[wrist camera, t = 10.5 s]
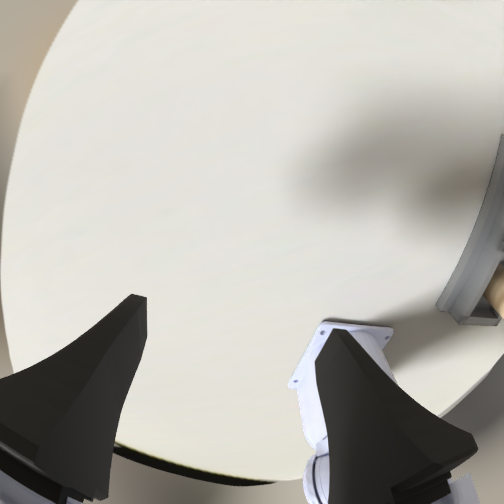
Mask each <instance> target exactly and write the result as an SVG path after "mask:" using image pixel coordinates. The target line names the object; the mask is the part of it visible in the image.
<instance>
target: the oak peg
mask: <svg viewBox="0 0 504 504" xmlns="http://www.w3.org/2000/svg"><path fill="white" fill-rule="evenodd" d="M482 296H483V297H484V298H485V299H486V300H487V301H488V302H489V303H490V304H491V306H492V307H493V308H494V309H495V310H496V311H497V312H498V313H499V314H500V316H501V317H502V318H503V319H504V266H503V265H502V264H501V263H499V264H498V266H497V268H496V270H495V272H494V274H493V276H492V278H491V280H490V282H489V284H488V285H487V287H486V289H485V291H484V293H483V294H482Z"/></svg>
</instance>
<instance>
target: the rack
mask: <svg viewBox="0 0 504 504" xmlns="http://www.w3.org/2000/svg"><path fill="white" fill-rule="evenodd" d="M499 263H501V264H502V265H503V266H504V135H503V134H502V136H501V141H500V145H499V150H498V154H497V158H496V162H495V166H494V170H493V173H492V177H491V180H490V184H489V187H488V190H487V193H486V196H485V199H484V202H483V205H482V208H481V211H480V213H479V216H478V219H477V221H476V224H475V226H474V229H473V231H472V234H471V236H470V238H469V241H468V243H467V245H466V247H465V250H464V252H463V254H462V256H461V258H460V260H459V262H458V264H457V266H456V268H455V270H454V272H453V274H452V276H451V278H450V280H449V282H448V284H447V286H446V287H445V289H444V291H443V293H442V295H441V296H440V298H439V300H438V302H437V303H436V306H437V308H438V309H439V310H440V311H444V312H449V313H450V314H451V315H452V317H453V318H454V319H455V320H456V322H457V323H458V324H459V325H480V326H497V325H498V323H499V322H500V320H501V319H502V317H501V316H500V314H499V313H498V312H497V311H496V310H495V309H494V308H493V307H492V306H491V304H490V303H489V302H488V301H487V300H486V299H485V298H484V297H483V296H482V294H483V293H484V291H485V289H486V287H487V285H488V284H489V282H490V280H491V278H492V276H493V274H494V272H495V270H496V268H497V266H498V264H499Z"/></svg>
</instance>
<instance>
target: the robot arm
mask: <svg viewBox="0 0 504 504" xmlns="http://www.w3.org/2000/svg"><path fill="white" fill-rule="evenodd" d="M321 331H323V332H321ZM393 333H394V330H393V329H392V328H389V327H377V326H365V325H355V324H345V323H336V322H327V321H325V322H322V323H320V325H319V326H318V328H317V330H316V332H315V334H314V336H313V338H312V340H311V342H310V344H309V346H308V348H307V350H306V352H305V354H304V355H303V357H302V359H301V361H300V363H299V365H298V367H297V368H296V370H295V372H294V374H293V376H292V377H291V379H290V381H289V383H288V388H290V389H297V394H298V400H299V406H300V412H301V419H302V425H303V432H304V435H305V438H306V440H307V441H308V443H309V444H310V445H311V446H312V447H313V448H314V449H315V450H316V454H315V455H313V456H311V457H310V459H309V460H308V462H307V465H306V467H305V470H304V474H303V486H304V492H305V495H306V498H307V501H308V503H309V504H480V502H479V499H478V496H477V492H476V489H475V486H474V483H473V480H472V477H471V475H470V473H467V474H466V475H464V476H462V477H461V478H459V479H457V480H455V481H453V482H452V479H451V473H450V471H451V470H452V469H454V468H455V467H457V466H459V465H460V464H462V463H463V462H465V461H466V460H467V459H469V458H470V457H471V456H473V455H474V454H475V453H476V452H477V450H478V447H477V444H476V442H475V440H474V438H473V436H472V434H471V433H468V432H466V431H464V430H461V429H459V428H457V427H455V426H453V425H451V424H449V423H447V422H446V421H444V420H442V419H440V418H439V417H437V416H436V415H434V414H433V413H431V412H430V411H428V410H427V409H426V408H424V407H423V406H421V405H420V404H419V403H417V402H416V401H415V400H414V399H413V398H411V397H410V396H409V395H408V394H407V393H406V392H404V391H403V390H402V389H401V388H400V387H399V386H398V384H397V382H396V380H395V377H394V375H393V373H392V371H391V369H390V366H389V364H388V362H387V360H386V358H385V356H384V354H383V351H382V350H383V348H384V347H385V346H386V344H387V343H388V341H389V340H390V338H391V337H392V335H393ZM146 339H147V297H143V296H139V295H134V294H131V295H129V296H128V297H127V298H126V299H124V300H123V301H122V302H121V303H120V304H119V305H118V306H117V307H115V308H114V309H113V310H112V311H111V312H110V313H109V314H107V315H106V316H105V317H104V318H103V319H101V320H100V321H99V322H98V323H97V324H95V325H94V326H93V327H92V328H90V329H89V330H88V331H87V332H85V333H84V334H83V335H81V336H80V337H79V338H77V339H76V340H75V341H73V342H72V343H70V344H69V345H67V346H66V347H64V348H63V349H61V350H60V351H58V352H57V353H55V354H53V355H52V356H50V357H48V358H46V359H44V360H42V361H41V362H39V363H37V364H35V365H33V366H31V367H29V368H27V369H24V370H22V371H20V372H17V373H15V374H12V375H10V376H8V377H4V378H2V379H0V504H84V503H83V501H84V499H86V500H89V501H91V502H92V501H93V498H94V499H97V500H100V501H101V500H103V499H106V498H108V492H109V491H108V490H109V478H110V468H111V461H112V454H113V448H114V442H115V437H116V432H117V427H118V423H119V418H120V414H121V411H122V407H123V404H124V401H125V399H126V396H127V394H128V391H129V388H130V386H131V383H132V381H133V378H134V375H135V373H136V370H137V368H138V365H139V363H140V360H141V357H142V354H143V350H144V346H145V343H146Z"/></svg>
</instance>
